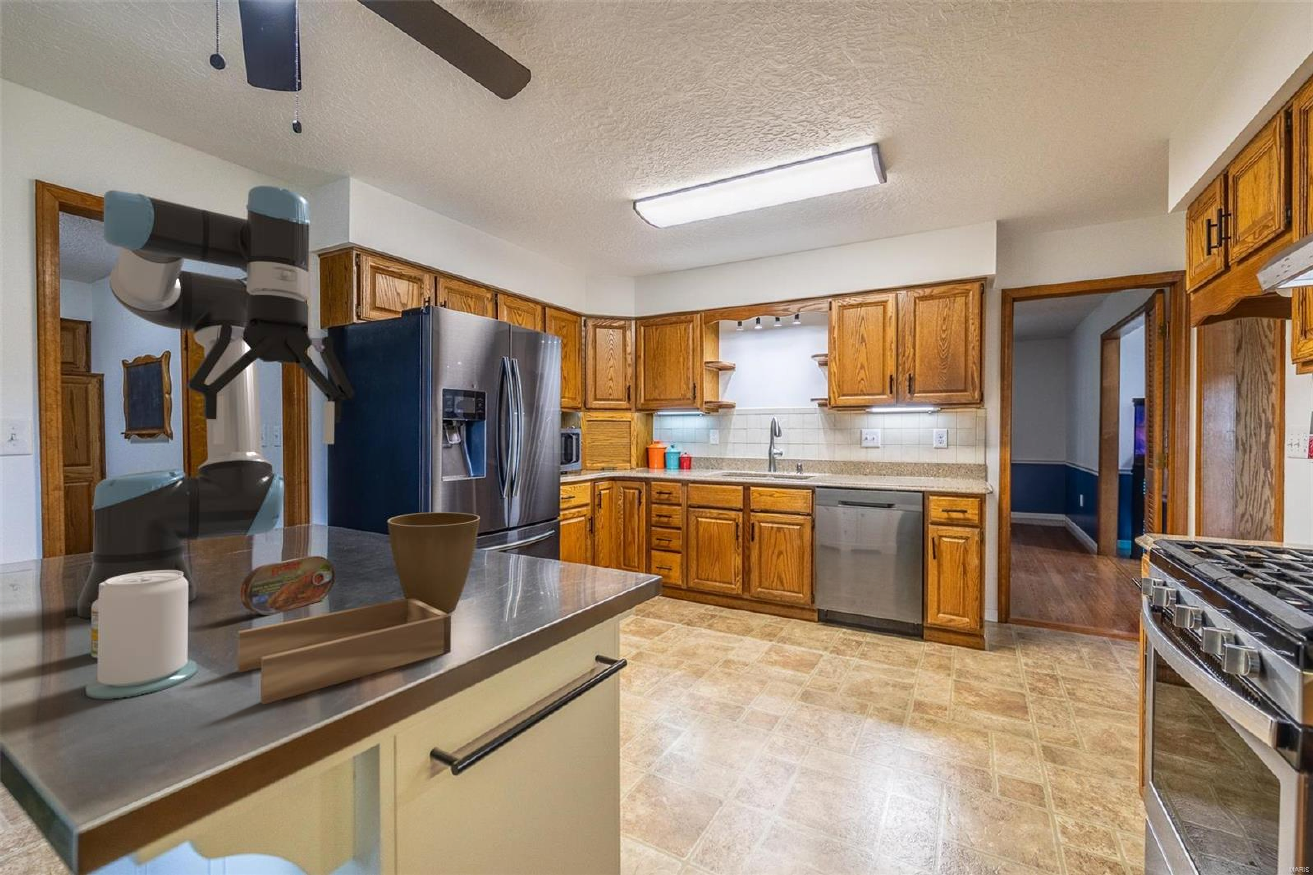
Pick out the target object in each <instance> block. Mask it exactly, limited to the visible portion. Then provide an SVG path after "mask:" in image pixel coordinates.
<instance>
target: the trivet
mask: <svg viewBox="0 0 1313 875" xmlns="http://www.w3.org/2000/svg"><path fill="white" fill-rule="evenodd" d="M197 672H198V664H197V662H195V661H194V660H192V659H191V660H190V659H187V663H186V665H185V666H184V667H183V668H181V669H180V670H178V671H176V672H174V673H173V674H171V675H169V676H167V677H165V678H162V679H159V680H156V681H153V682H149V683H144V684H139V685H132V686H113V685H107V684H102V683H100V682H99V681H98V677H96V678H95V679H92V680H90V682H89V683H87V685H86V686H85V695H86V696H87V697H88V698H90V699H94V700H114V699H113V698H119V699H124V698H123V697H127V698H129V697H128V696H134V697H139V696H142V695H141V694H144V695H146V694H145V693H148V694H151V693H150V692H152V693H154V692H153V691H156V692H159V691H163V690H165V689H169V688H170V687H171V688H172V687H174V686H177V685H179V684H181V683H180V682H182V683H183V682H186V681H187V680H190V679H191V678H193V677H194V676H195V675H196V673H197ZM178 683H179V684H178ZM138 695H139V696H138Z"/></svg>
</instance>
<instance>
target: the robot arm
mask: <svg viewBox="0 0 1313 875" xmlns="http://www.w3.org/2000/svg"><path fill="white" fill-rule="evenodd" d="M245 208H246V211H247V217H246V218H247V219H245V218H241V217H237V216H234V215H233V216H232V215H228V214H224V213H220V212H216V211H215V212H214V211H210V210H206V209H202V208H197V207H194V206H189V205H185V204H181V203H176V202H172V201H167V200H163V199H161V198H159V199H158V198H155V197H150V196H146V194H141V193H131V192H126V191H122V190H121V191H120V190H116V189H115V190H113V189H112V190H108V191H106V192H105V194H104V195H103V239H104V241H105V242H106V243H107V244H109V245H111V246H115V247H119V248H120V249H119V252H120V253H119V261H118V263H117V264H116V265H115V266H113V268H112V269H111V271H110V275H109V288H110V290H111V293H112V294H113V296H114V297H115V299H116V300H117V301H118V303H119V304H121V306H122V307H124V308H125V309H126V310H128V311H130V312H131V313H132V314H133V315H135V316H137V317H139V318H141V319H143V320H145V321H147V322H149V323H152V324H154V325H157V326H161V327H164V328H169V329H176V330H181V331H183V330H184V331H190V332H193V339H194V340H195V342H196V343H197V344H198V345H199V346H202V348H204V349H203V351H204V352H203V353H204V358H203V360H202V361H201V363H200V364H199V366H198V368H197V369H196V370H195V372H194V373H193V374H192V376H191V378H189V380H188V382H187V383H186V389H188V390H189V391H193V392H196V393H199V394H201V395H202V396H203V417H204V420H206V442H207V445H206V446H207V460H206V461H204V462H203V463H202V464H200V466H198V469H197V476H186V473H185V471H184V469H180V468H179V469H167V470H166V469H165V470H164V469H163V470H154V471H147V472H146V471H145V472H138V473H130V474H129V473H128V474H124V475H117V476H112V477H107V478H104V479H102V480H100V481H99V482H98V483H97V484H96V485H95V488H94V496H93V497H94V498H93V505H92V506H91V510H93V519H94V520H93V540H92V542H93V543H92V544H93V546H92V549H93V550H92V557H93V558H92V560H93V561H92V568H91V569H90V570H91V571H90V572H89V575H88V578H87V579H86V582H85V583H84V586H83V589H82V590H81V593H80V595H79V597H78V600H77V612H76V614H77V615H78V617H80V618H85V619H91V617H92V616H91V609H92V604H93V603H94V602H95V601H96V600H97V599H98V596H99V584H100V583H102V582H105V581H106V580H108V579H110V578H113V577H117V576H121V575H126V574H131V573H138V572H146V571H157V570H177V571H182V572H183V577H184V578H185V579H186V580H187V581H188V604H189V603H191V602H193V601H194V600H196V584H195V581H194V579H193V577H192V574H191V572H190V569H189V568H188V564H187V562H186V560H185V557H184V545H185V544H184V542H189V541H199V540H211V539H222V538H231V537H243V536H244V537H248V536H254V535H260V534H261V535H262V534H267V533H270V532H271V531H272V530H274V528H275V527H277V525H278V522H279V519H280V516H281V512H282V508H283V501H284V492H285V482H284V477H283V475H282V474H279V473H273V464H272V463H271V461H269V460H267V459H265V458H264V457H263V444H262V442H263V441H262V426H261V408H260V391H259V373H258V359H259V361H263V363H274V362H277V363H279V364H287V365H288V364H293V363H295V365H297V367H298V368H300V369H301V370H302V371H303V372H304V373H305V374H306V376H307V377H308V378H309V379H310V380H311V382H313V383H314V385H315V386H316V387H317V388H318V389H319V391H320V392H321V393H323V394H324V396H325V397H326V398H327V399H328V400H329V401H323V403H322V404H323V405H322V406H323V411H322V415H323V416H322V419H323V420H322V444H323V445H334V444H335V423H340V422H341V421H342V402H343V401H345V400H348V399H353V398H354V397H355V394H356V393H355V391H354V390H353V387H352V385H351V383H350V382H349V379H348V378H347V375H346V373H345V372H344V369H343V367H342V365H341V363H340V362H339V360H338V358H337V356H336V354H335V352H334V345H333V339H332V338H331V337H330V336H323V337H311V335H310V333H309V305H308V304H307V303H306V302H305V301H307V300H308V299H309V265H310V264H309V261H310V260H309V258H310V255H309V254H310V226H311V222H312V221H310V210H309V209H310V207H309V204H308V202H307V200H306V199H305V198H304V197H303V196H302V195H300V194H299V193H296V192H295V191H291V190H289V189H285V188H281V187H278V186H272V185H271V186H270V185H259V186H254V187H253V188H251V189H250V190H249V191H248V195H247V205H246V207H245ZM185 260H192V261H197V262H204V263H209V264H214V265H219V266H226V267H230V268H236V269H240V270H241V271H242V272H244V273H246V280H244V279H242V278H229V277H223V276H216V275H210V274H204V273H199V272H193V271H187V270H182V268H183V264H184V261H185ZM311 346H313V348H314V349H315V351H316V352H318V353H319V355H320V357H321V359H322V361H323V363H324V365H325V367H326V370H327V371H328V373H329V374H330V377H331V378H332V380H333V383H334V384H335V386H336V387H335V386H334V385H333V384H332V383H331V381H329V379H328V378H327V377H326V376H325V374H323V372H322V371H321V370H320V369H319V368H318V367H317V365H315V363H314V362H313V360H312V358H311V357H310V355H308V354H307V352H306V351H307V350H309V348H311Z"/></svg>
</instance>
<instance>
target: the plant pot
mask: <svg viewBox="0 0 1313 875" xmlns="http://www.w3.org/2000/svg"><path fill="white" fill-rule="evenodd" d="M480 520H481V517H480V515H477V514H471V513H466V512H465V513H463V512H447V511H446V512H443V511H442V512H441V511H439V512H420V513H419V512H418V513H410V514H403V515H397V516H394V517H391V518H389V519H387V521H386V522H387V528H388V534H389V541H390V547H391V553H392V558H393V561H394V566H395V570H396V575H397V578H398V580H399V584H400V585H399V586H400V587H401V590H402V593H403V596H404V598H409V597H412V598H414V599H416V600H418V601H420V602H423V603H425V604H427V605H429V606H431V607H433V608H435V609H438V610H440V611H442V612H444V613H446V614H448V613H450V612H453V611H455V609H456V608H457V607H458V603H459V601H460V598H461V596H462V593H463V591H464V588H465V586H466V585H465V584H466V582H467V579H468V576H469V572H470V568H471V565H472V562H473V557H474V553H475V548H476V544H477V538H478V535H479V534H478V533H479V527H480Z"/></svg>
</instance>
